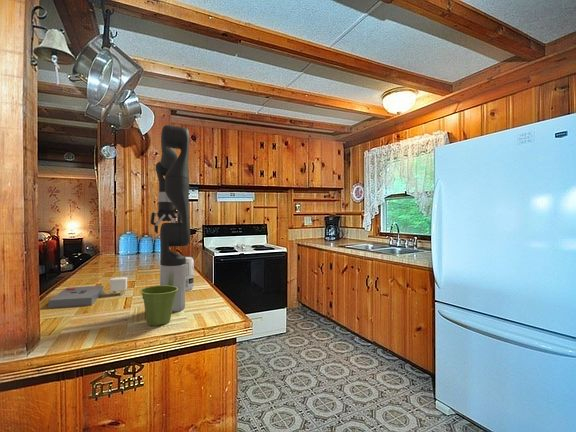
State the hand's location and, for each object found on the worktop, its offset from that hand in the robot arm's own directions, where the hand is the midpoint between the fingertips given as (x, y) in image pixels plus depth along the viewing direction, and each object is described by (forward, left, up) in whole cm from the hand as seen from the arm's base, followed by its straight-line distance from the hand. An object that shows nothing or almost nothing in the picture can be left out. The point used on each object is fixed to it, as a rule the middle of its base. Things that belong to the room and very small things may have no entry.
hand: (165, 233), depth 154 cm
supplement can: (-12, -9, -27) cm, 30 cm away
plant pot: (-56, 0, -27) cm, 62 cm away
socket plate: (-19, +33, -26) cm, 46 cm away
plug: (-14, +19, -26) cm, 35 cm away
